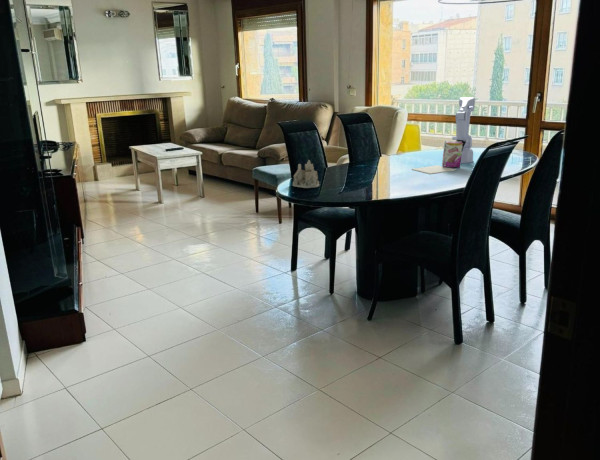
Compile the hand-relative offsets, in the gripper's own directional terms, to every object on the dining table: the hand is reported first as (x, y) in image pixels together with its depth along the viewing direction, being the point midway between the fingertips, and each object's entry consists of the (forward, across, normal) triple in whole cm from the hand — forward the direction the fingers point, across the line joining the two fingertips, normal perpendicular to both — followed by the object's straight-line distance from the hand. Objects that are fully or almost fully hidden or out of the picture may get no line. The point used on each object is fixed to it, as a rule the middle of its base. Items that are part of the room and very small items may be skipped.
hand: (460, 151), depth 355 cm
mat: (+9, 0, -21) cm, 23 cm away
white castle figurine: (+10, -9, -107) cm, 107 cm away
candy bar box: (+9, 0, -7) cm, 12 cm away
